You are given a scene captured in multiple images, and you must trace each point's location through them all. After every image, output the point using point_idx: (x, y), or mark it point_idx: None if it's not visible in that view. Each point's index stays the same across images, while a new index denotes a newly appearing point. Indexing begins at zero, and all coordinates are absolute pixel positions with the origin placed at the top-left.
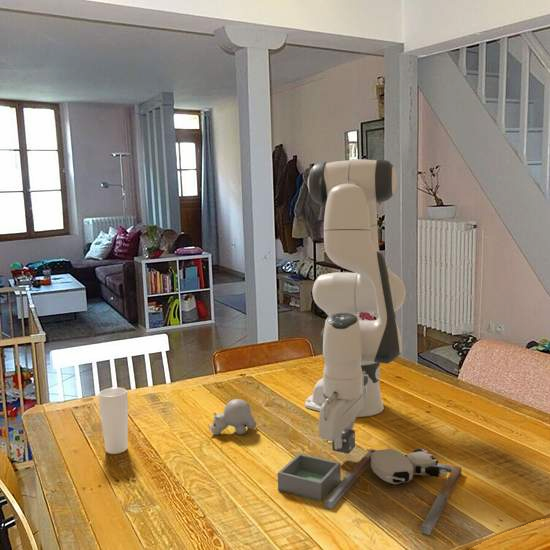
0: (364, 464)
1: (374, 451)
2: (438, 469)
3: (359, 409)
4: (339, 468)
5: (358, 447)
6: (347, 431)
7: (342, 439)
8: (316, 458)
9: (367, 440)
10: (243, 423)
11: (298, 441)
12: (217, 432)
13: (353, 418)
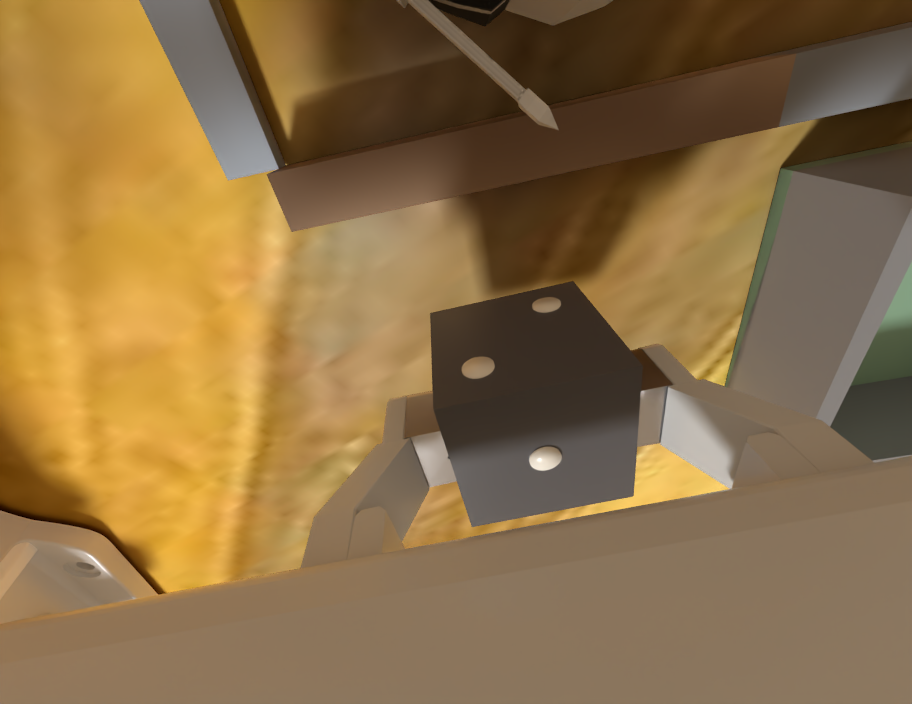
0: (575, 103)
1: (470, 44)
2: None
3: (151, 695)
4: (896, 182)
5: (289, 337)
6: (505, 445)
7: (643, 396)
8: (846, 386)
9: (164, 348)
10: None
11: (455, 536)
12: None
13: (469, 578)
